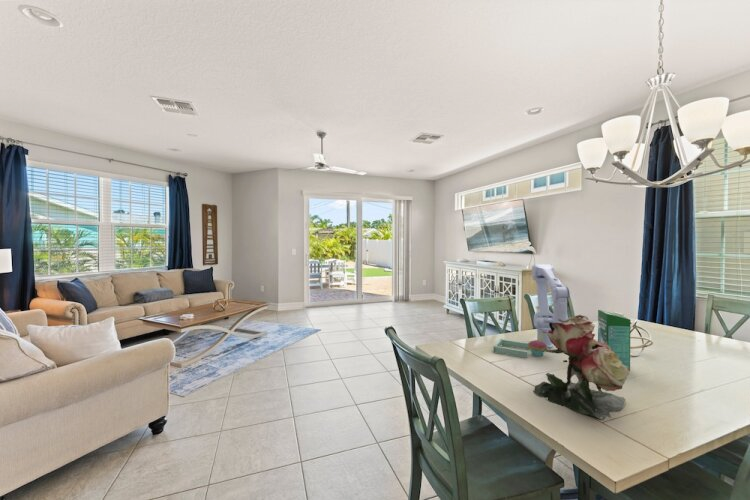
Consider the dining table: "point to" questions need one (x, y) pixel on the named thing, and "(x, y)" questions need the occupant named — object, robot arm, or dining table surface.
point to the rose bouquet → (584, 370)
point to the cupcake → (537, 346)
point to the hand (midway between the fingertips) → (560, 339)
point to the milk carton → (615, 334)
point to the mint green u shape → (511, 351)
